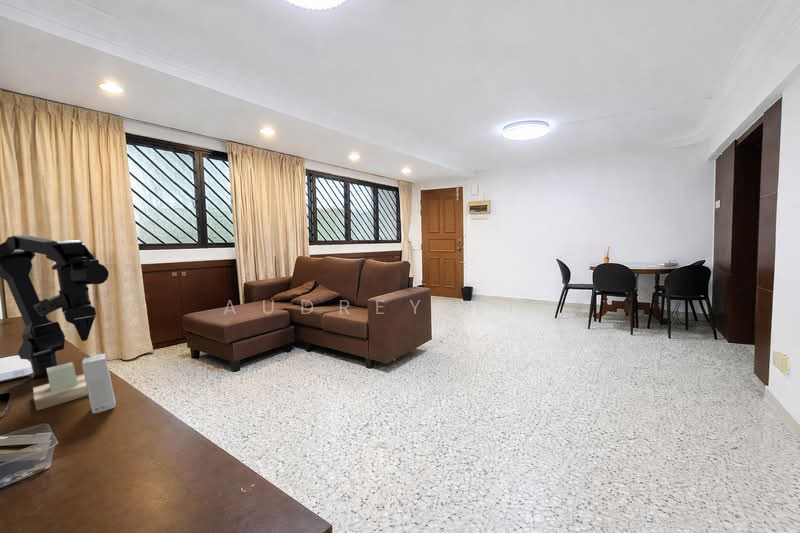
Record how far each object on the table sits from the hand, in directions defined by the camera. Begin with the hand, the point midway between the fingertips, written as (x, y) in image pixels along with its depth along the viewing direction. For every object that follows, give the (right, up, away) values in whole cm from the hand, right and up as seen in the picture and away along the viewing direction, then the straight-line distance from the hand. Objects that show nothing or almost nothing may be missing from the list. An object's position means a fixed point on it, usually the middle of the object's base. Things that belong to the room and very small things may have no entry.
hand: (83, 337), depth 103 cm
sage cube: (+4, -10, -10) cm, 15 cm away
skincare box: (+21, -13, -18) cm, 31 cm away
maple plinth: (+4, -13, -10) cm, 17 cm away
